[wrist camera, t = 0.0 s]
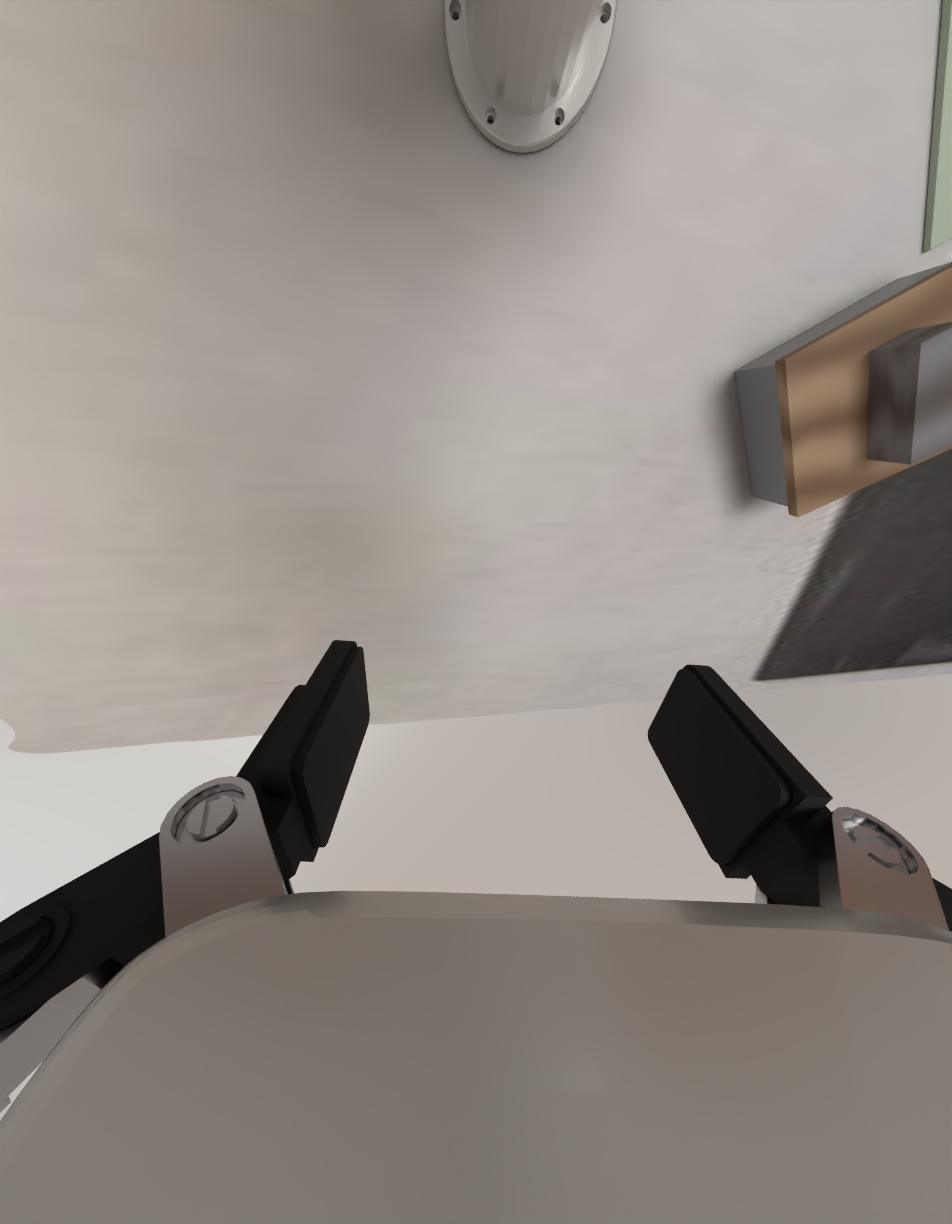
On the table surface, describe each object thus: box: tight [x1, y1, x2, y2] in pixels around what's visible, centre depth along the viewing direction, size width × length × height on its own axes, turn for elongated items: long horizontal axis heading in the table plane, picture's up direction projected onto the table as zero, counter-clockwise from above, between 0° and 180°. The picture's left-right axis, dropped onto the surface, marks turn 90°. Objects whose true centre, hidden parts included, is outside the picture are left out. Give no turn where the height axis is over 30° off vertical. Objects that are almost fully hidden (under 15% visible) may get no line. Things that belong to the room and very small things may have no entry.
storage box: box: [735, 262, 952, 506], centre depth 35 cm, size 15×15×6 cm
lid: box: [775, 263, 952, 517], centre depth 31 cm, size 16×16×6 cm
